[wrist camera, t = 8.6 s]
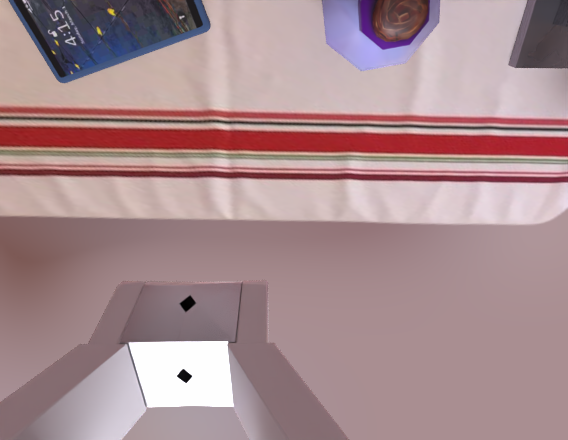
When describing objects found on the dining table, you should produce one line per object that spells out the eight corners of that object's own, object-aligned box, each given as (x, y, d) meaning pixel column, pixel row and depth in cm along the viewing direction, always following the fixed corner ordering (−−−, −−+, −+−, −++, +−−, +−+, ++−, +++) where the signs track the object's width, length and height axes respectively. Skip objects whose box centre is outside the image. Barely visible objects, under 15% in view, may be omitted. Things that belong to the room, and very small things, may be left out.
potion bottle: (340, 75, 36) (366, 115, 26) (291, -19, 32) (299, -14, 22) (429, 18, 33) (497, 39, 23) (388, -90, 29) (448, -122, 19)
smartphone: (212, 30, 33) (58, 85, 35) (213, 28, 34) (63, 83, 36) (171, -77, 29) (2, -7, 31) (173, -76, 30) (8, -7, 32)
